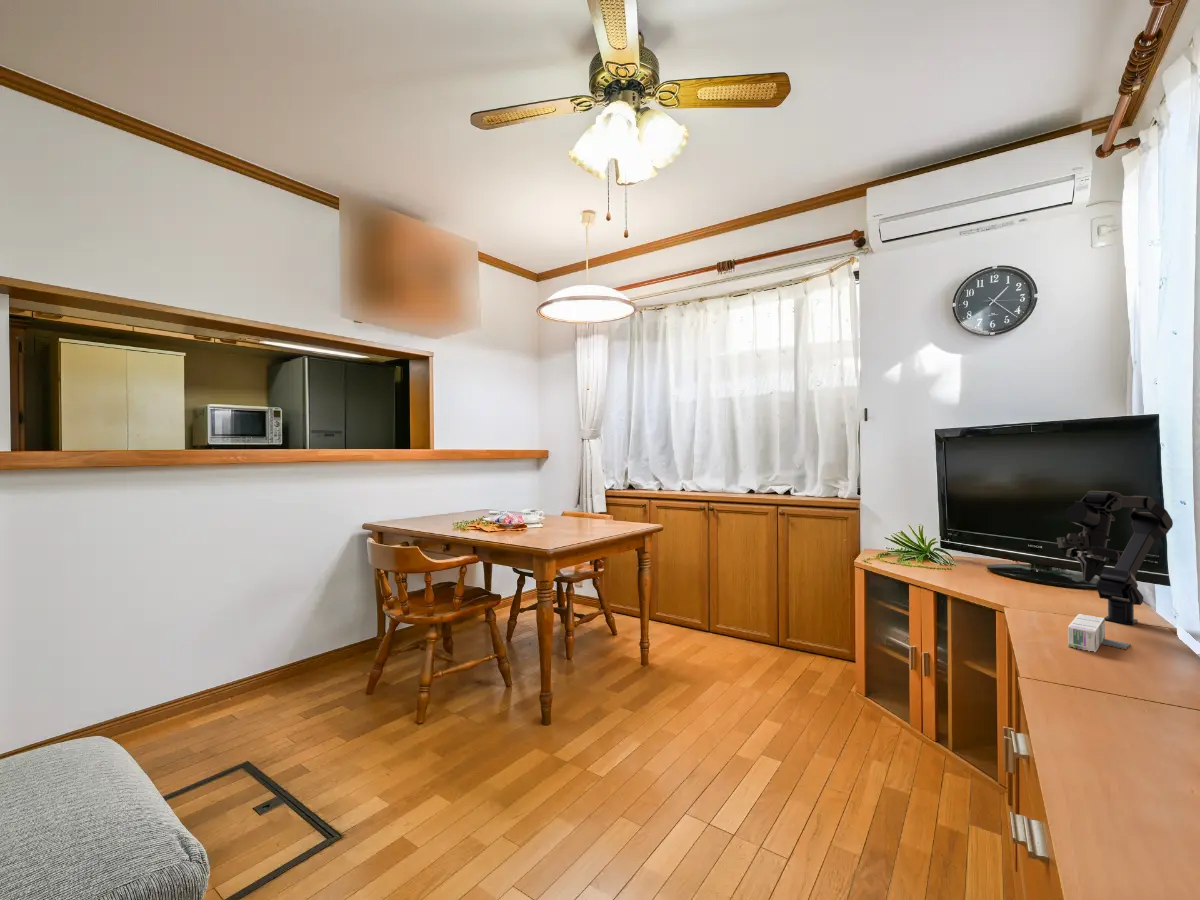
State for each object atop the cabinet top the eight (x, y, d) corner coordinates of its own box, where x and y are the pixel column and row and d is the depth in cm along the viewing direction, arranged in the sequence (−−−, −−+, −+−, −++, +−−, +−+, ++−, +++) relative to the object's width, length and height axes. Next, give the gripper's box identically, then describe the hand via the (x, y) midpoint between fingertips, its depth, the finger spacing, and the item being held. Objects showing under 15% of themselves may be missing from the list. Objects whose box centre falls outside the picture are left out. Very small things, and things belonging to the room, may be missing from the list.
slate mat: (1086, 636, 153) (1086, 634, 153) (1130, 645, 146) (1130, 643, 146) (1080, 640, 150) (1080, 638, 150) (1125, 649, 143) (1125, 648, 143)
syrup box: (1077, 613, 154) (1065, 626, 145) (1106, 617, 149) (1095, 631, 140) (1078, 632, 154) (1066, 647, 145) (1106, 638, 150) (1095, 653, 140)
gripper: (1051, 526, 175) (1041, 573, 174) (1076, 521, 158) (1066, 573, 157) (1094, 535, 171) (1085, 584, 169) (1124, 532, 154) (1115, 585, 152)
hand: (1086, 581), depth 162 cm, fingers closed
